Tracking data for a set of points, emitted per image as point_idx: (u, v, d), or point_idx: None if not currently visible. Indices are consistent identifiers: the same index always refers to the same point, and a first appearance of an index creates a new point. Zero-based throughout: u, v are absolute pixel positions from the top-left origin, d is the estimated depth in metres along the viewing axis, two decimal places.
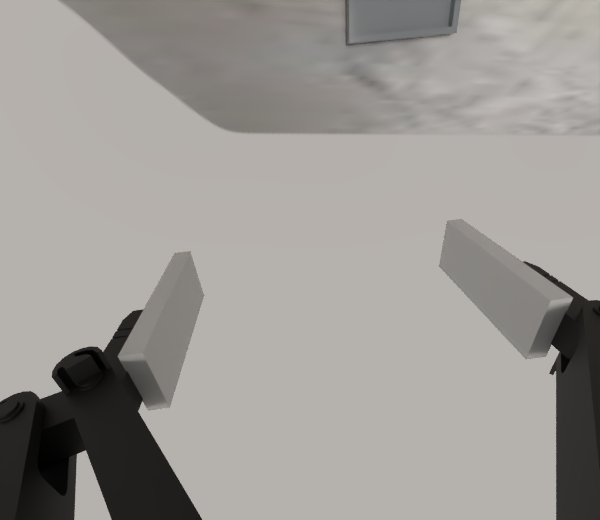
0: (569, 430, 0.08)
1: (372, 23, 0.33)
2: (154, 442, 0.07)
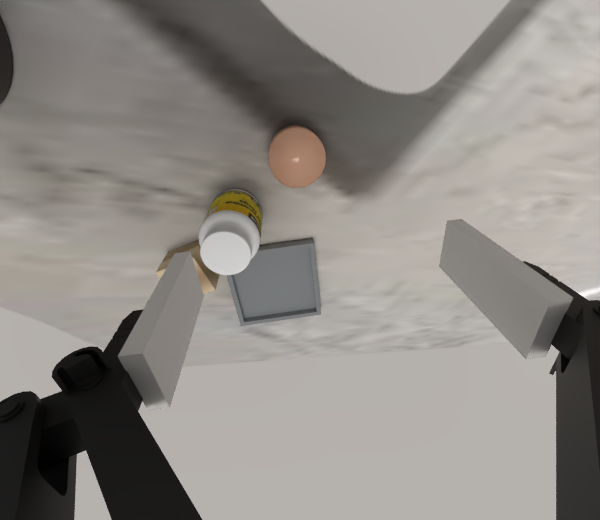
0: (569, 430, 0.08)
1: (258, 310, 0.45)
2: (154, 442, 0.07)
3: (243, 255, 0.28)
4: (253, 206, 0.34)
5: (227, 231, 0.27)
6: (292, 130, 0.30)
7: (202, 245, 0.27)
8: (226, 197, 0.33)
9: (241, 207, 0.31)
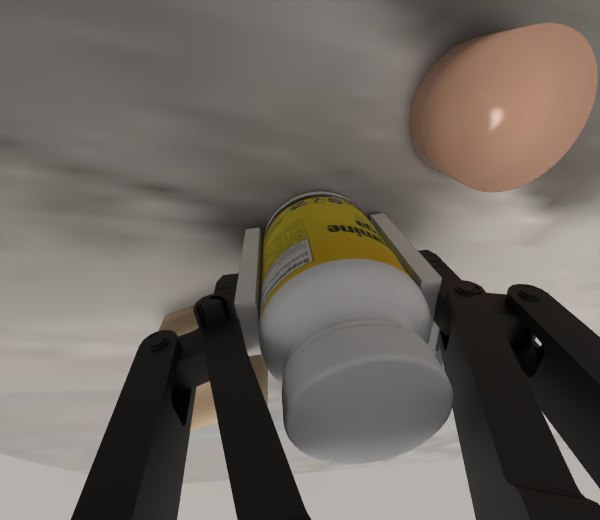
0: (462, 406, 0.09)
1: None
2: (259, 387, 0.08)
3: (425, 419, 0.08)
4: (380, 236, 0.14)
5: (400, 357, 0.07)
6: (536, 27, 0.11)
7: (298, 399, 0.08)
8: (318, 212, 0.13)
9: (375, 242, 0.11)
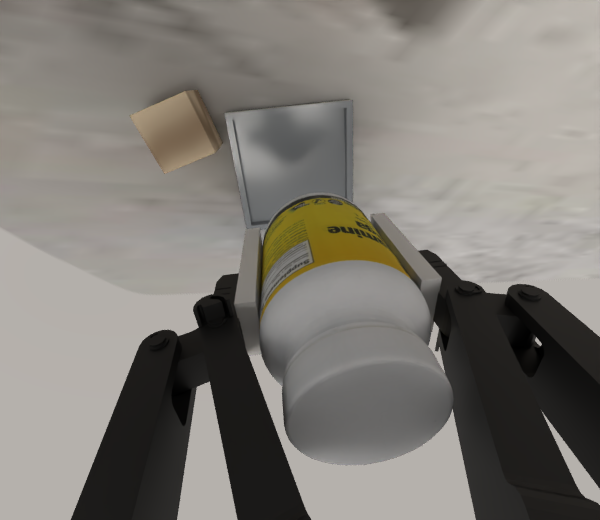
0: (462, 406, 0.09)
1: (270, 211, 0.34)
2: (259, 387, 0.08)
3: (425, 421, 0.08)
4: None
5: (400, 359, 0.07)
6: None
7: (298, 401, 0.08)
8: (318, 213, 0.13)
9: (376, 243, 0.11)
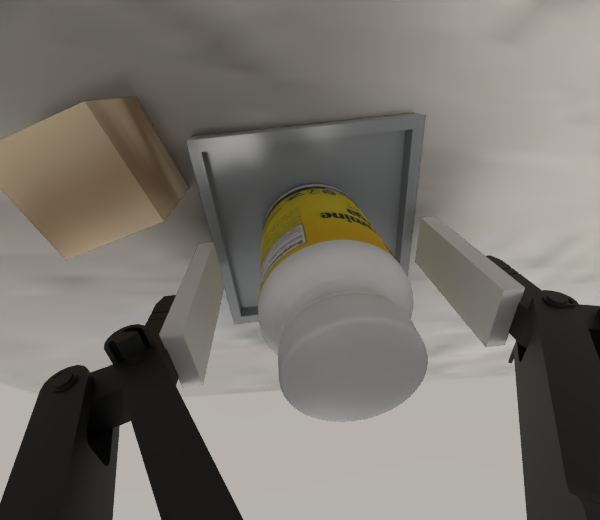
0: (531, 418, 0.08)
1: None
2: (190, 419, 0.07)
3: (404, 379, 0.10)
4: None
5: (378, 319, 0.08)
6: None
7: (291, 357, 0.09)
8: (312, 202, 0.14)
9: (364, 227, 0.12)
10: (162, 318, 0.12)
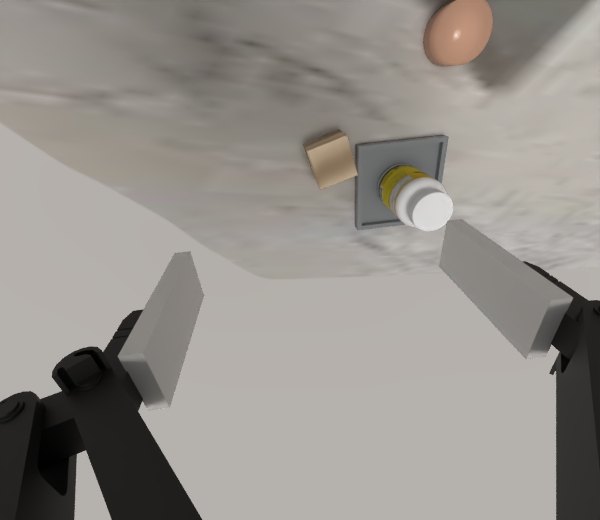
0: (569, 430, 0.08)
1: (374, 215, 0.46)
2: (154, 442, 0.07)
3: (446, 214, 0.34)
4: None
5: (441, 192, 0.33)
6: None
7: (418, 204, 0.33)
8: (407, 169, 0.39)
9: None
10: (128, 335, 0.11)
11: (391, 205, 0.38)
